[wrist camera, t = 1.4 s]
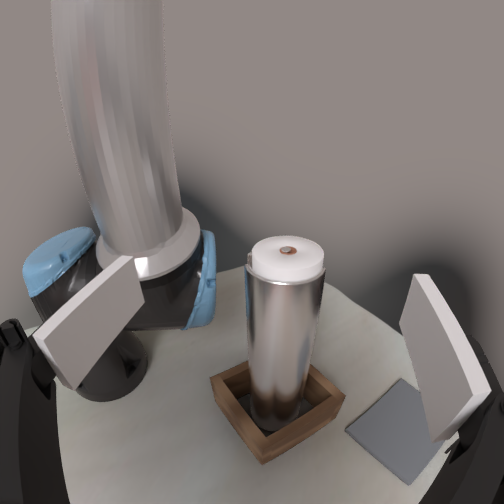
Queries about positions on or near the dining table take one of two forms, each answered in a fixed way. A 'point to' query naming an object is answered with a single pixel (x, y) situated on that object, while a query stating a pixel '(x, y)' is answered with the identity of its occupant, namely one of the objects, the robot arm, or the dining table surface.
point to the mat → (397, 432)
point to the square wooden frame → (268, 448)
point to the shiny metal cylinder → (281, 324)
